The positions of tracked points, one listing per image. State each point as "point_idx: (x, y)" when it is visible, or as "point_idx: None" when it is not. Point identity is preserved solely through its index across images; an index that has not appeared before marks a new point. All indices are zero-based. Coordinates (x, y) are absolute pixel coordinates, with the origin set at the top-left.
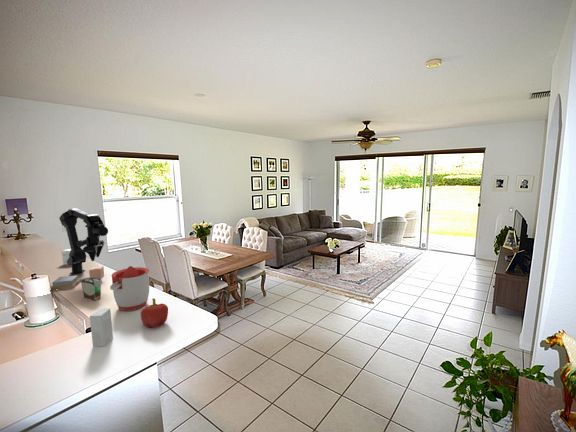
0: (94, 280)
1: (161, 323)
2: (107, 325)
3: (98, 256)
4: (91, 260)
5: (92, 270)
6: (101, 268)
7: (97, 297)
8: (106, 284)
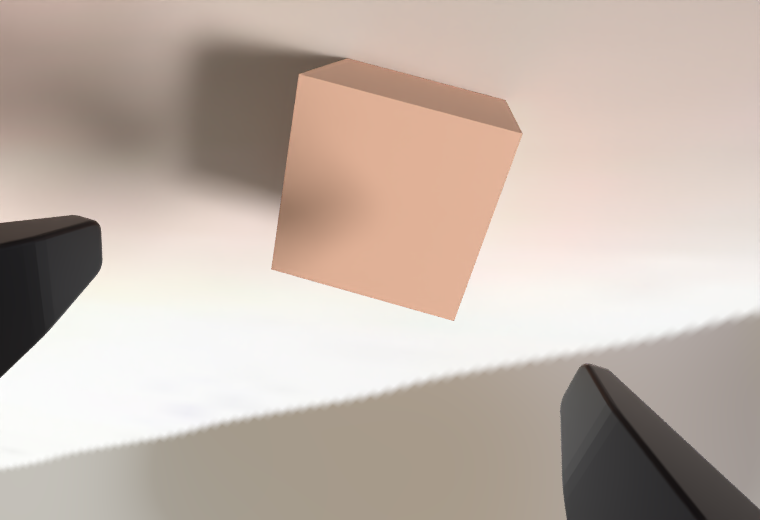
0: None
1: None
2: None
3: (565, 418)
4: (54, 218)
5: (295, 133)
6: (332, 280)
7: None
8: None
